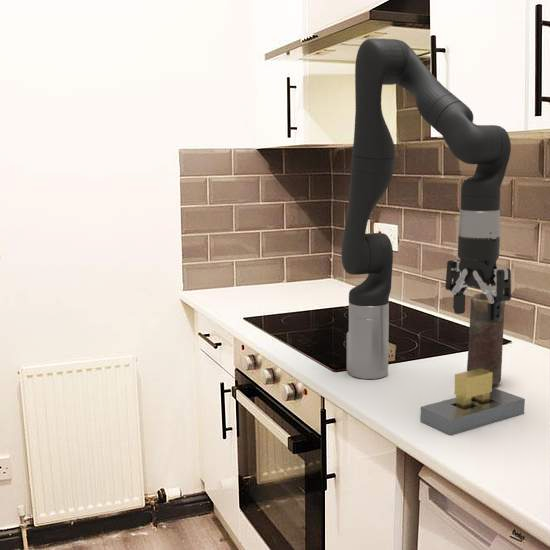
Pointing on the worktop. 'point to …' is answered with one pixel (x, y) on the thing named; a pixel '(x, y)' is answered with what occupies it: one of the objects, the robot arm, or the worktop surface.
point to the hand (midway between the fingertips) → (475, 317)
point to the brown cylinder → (485, 338)
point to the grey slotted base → (471, 412)
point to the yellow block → (473, 387)
